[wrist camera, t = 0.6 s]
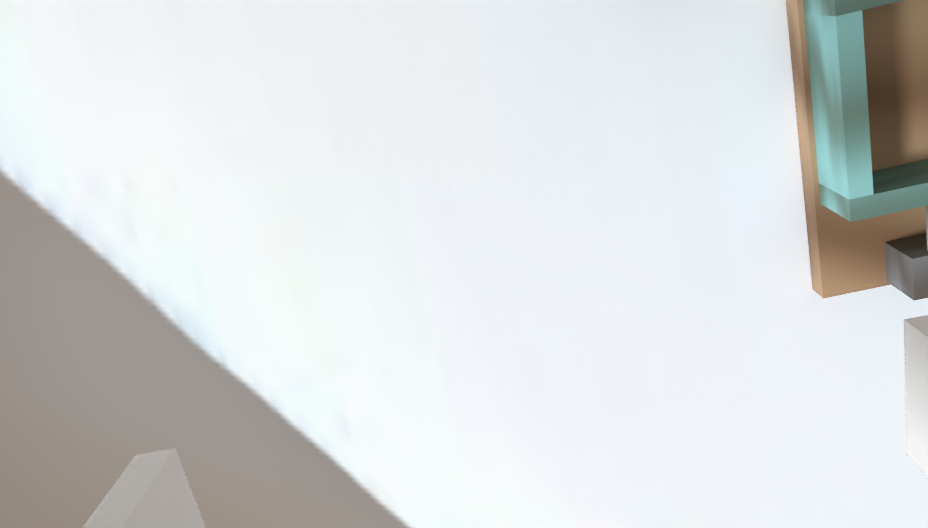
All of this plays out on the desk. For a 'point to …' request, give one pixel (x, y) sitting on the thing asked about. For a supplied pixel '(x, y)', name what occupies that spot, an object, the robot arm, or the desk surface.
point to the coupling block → (863, 141)
